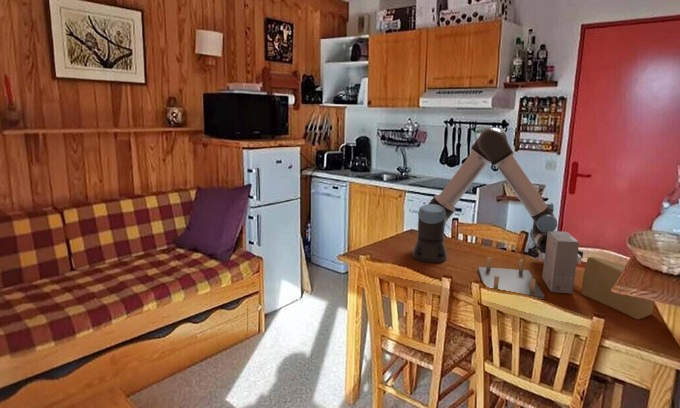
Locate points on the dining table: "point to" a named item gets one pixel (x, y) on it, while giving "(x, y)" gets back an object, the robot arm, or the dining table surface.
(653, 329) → the dining table surface
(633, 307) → the olive brown block
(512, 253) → the dining table surface
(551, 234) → the hard drive box
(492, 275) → the standoff base
